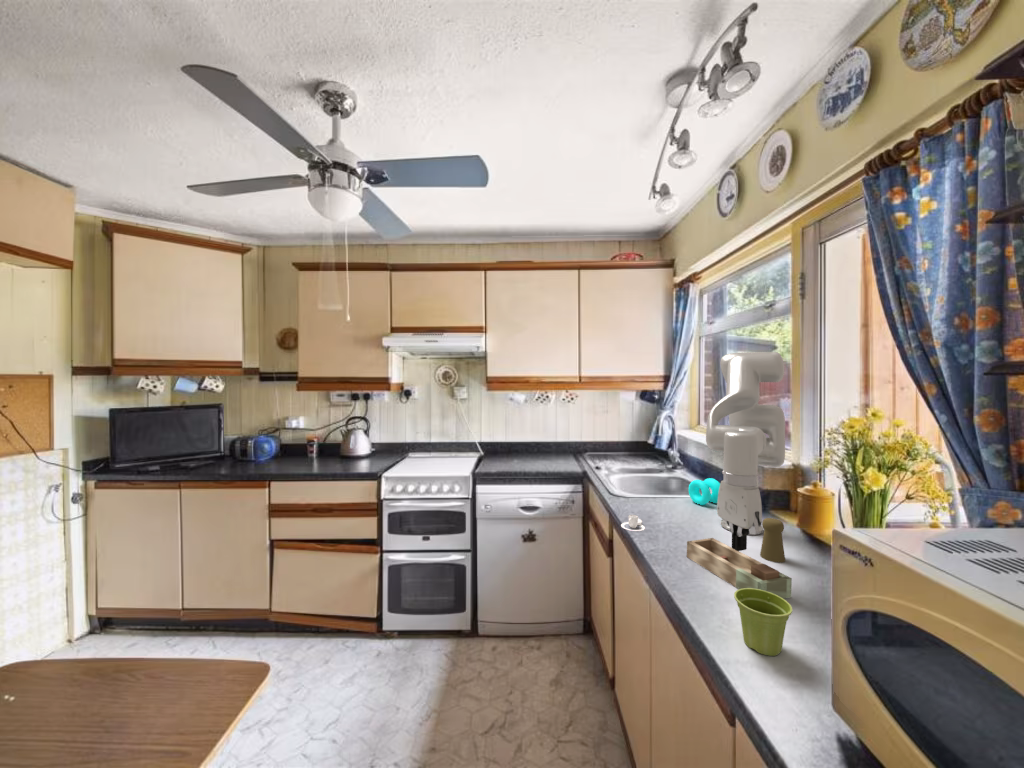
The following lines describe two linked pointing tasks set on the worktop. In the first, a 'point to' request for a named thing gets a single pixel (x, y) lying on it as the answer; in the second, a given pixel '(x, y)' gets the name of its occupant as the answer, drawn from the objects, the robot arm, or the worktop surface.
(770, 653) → the plant pot
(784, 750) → the worktop surface
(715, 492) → the donuts
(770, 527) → the cork
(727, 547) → the box
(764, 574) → the block
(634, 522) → the teacup and saucer
